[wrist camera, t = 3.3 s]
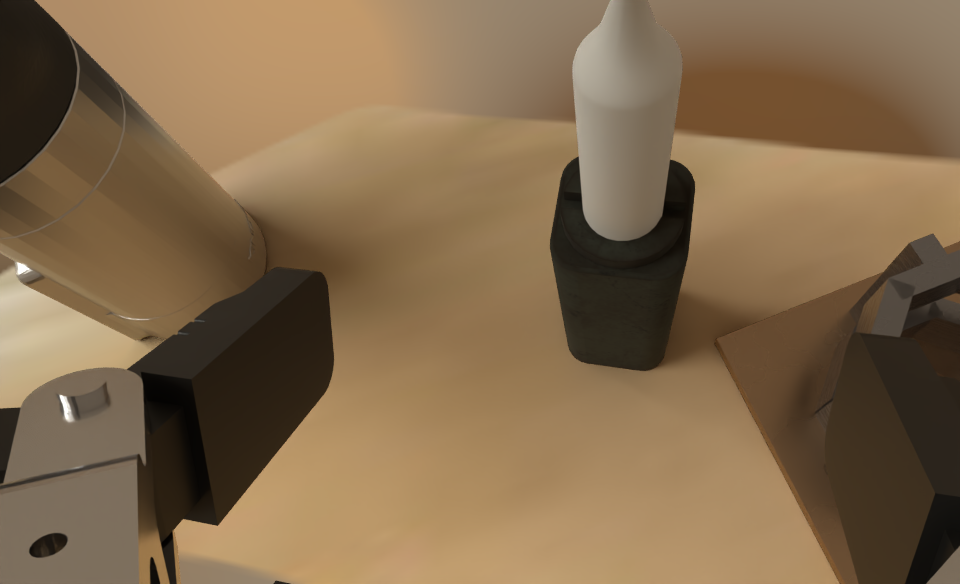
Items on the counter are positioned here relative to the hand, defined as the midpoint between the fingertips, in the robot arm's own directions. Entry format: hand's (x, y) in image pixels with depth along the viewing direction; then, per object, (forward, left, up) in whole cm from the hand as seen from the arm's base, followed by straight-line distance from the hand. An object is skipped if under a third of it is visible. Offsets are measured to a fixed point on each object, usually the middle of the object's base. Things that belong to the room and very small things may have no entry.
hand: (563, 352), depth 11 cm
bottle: (+5, +8, -27) cm, 29 cm away
